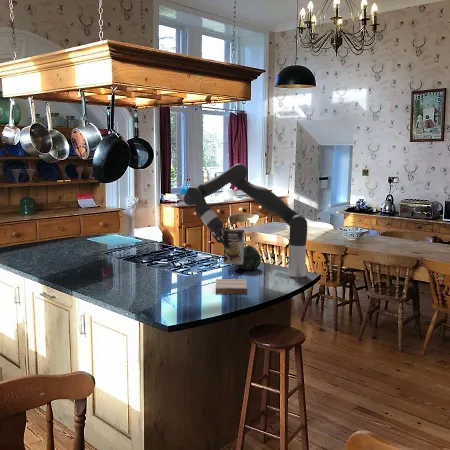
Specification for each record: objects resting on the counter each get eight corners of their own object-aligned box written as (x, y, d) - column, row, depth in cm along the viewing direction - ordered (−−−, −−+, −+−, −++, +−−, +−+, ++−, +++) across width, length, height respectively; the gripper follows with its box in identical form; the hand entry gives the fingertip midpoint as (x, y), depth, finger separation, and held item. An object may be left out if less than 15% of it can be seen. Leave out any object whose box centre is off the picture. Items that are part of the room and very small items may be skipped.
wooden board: (216, 283, 259) (216, 279, 258) (245, 284, 259) (245, 279, 258) (215, 293, 242) (215, 288, 241) (247, 293, 242) (247, 288, 241)
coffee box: (223, 263, 246) (223, 230, 243) (225, 260, 252) (226, 228, 249) (241, 264, 244) (242, 231, 241) (243, 261, 250) (244, 229, 248)
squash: (240, 255, 302) (236, 239, 291) (265, 258, 297) (261, 242, 286) (234, 274, 293) (229, 259, 282) (259, 278, 288) (255, 262, 277)
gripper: (214, 223, 258) (234, 248, 254) (199, 227, 245) (220, 253, 242) (223, 214, 255) (243, 239, 251) (209, 217, 242) (230, 244, 239)
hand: (232, 246), depth 247 cm, fingers closed on coffee box, 7 cm apart
